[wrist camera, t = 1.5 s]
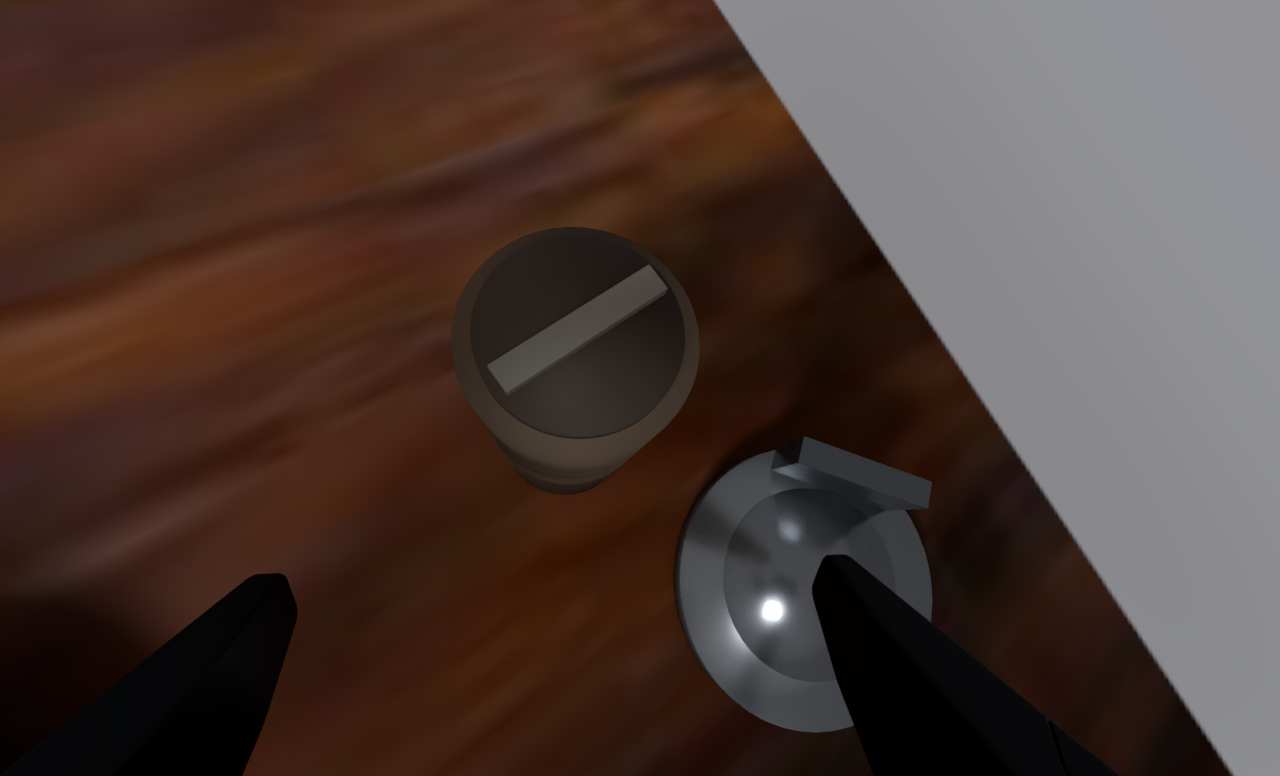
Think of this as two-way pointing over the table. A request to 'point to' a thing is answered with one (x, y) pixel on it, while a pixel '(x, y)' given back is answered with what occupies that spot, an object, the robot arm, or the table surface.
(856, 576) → the robot arm
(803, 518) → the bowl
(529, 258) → the brown cylinder
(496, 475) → the table surface
